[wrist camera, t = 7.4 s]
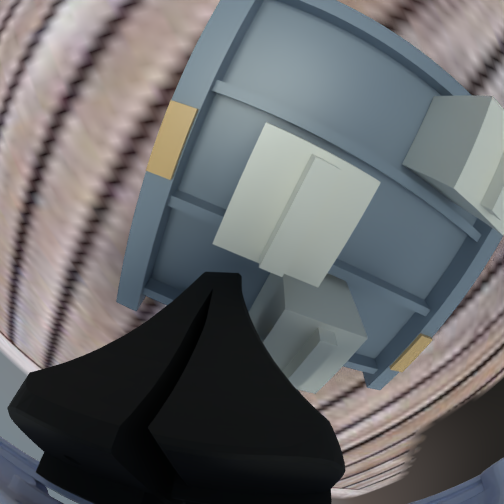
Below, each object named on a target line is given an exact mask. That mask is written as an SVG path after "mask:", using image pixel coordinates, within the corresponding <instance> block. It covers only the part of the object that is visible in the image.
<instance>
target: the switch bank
mask: <svg viewBox="0 0 504 504" xmlns="http://www.w3.org/2000/svg"><path fill="white" fill-rule="evenodd" d="M434 96H472V95H471V94H470V93H469V92H468V91H467V90H466V89H465V88H464V87H462V86H461V85H460V84H459V83H458V82H457V81H456V80H455V79H454V78H453V77H452V76H450V75H449V74H448V73H447V72H446V71H445V70H443V69H442V68H441V67H440V66H439V65H438V64H436V63H435V62H434V61H433V60H431V59H430V58H429V57H427V56H426V55H425V54H424V53H422V52H421V51H420V50H418V49H417V48H416V47H414V46H413V45H411V44H410V43H409V42H407V41H406V40H404V39H403V38H401V37H400V36H398V35H397V34H395V33H394V32H392V31H391V30H389V29H388V28H386V27H384V26H383V25H381V24H379V23H378V22H376V21H374V20H373V19H371V18H369V17H367V16H366V15H364V14H362V13H360V12H358V11H356V10H355V9H353V8H351V7H349V6H347V5H345V4H343V3H341V2H339V1H336V0H220V2H219V4H218V5H217V7H216V9H215V11H214V12H213V14H212V16H211V18H210V20H209V21H208V23H207V25H206V27H205V29H204V31H203V33H202V35H201V36H200V38H199V40H198V42H197V44H196V46H195V48H194V50H193V53H192V55H191V57H190V59H189V61H188V63H187V65H186V67H185V70H184V72H183V74H182V76H181V79H180V81H179V83H178V86H177V88H176V90H175V93H174V95H173V98H172V100H171V101H170V103H169V106H168V108H167V111H166V114H165V116H164V119H163V122H162V124H161V127H160V130H159V133H158V135H157V138H156V141H155V144H154V147H153V150H152V153H151V156H150V159H149V162H148V165H147V169H146V174H145V177H144V180H143V184H142V187H141V191H140V194H139V198H138V202H137V205H136V209H135V213H134V217H133V221H132V225H131V229H130V234H129V238H128V242H127V247H126V252H125V256H124V261H123V266H122V272H121V277H120V283H119V289H118V295H117V301H116V302H118V303H120V304H122V305H124V306H126V307H128V308H130V309H132V310H135V311H137V310H138V308H139V306H140V305H141V303H142V302H143V300H144V298H145V297H146V296H147V297H150V298H152V299H154V300H156V301H159V302H161V303H163V304H166V305H168V304H170V303H171V302H172V301H173V300H174V299H176V298H177V297H178V296H179V295H180V294H181V293H182V292H183V291H185V290H186V289H187V288H188V287H189V286H190V285H191V284H192V283H193V282H194V281H195V280H196V279H198V278H199V277H200V276H201V275H202V274H203V273H204V272H229V273H239V274H240V275H241V276H242V293H243V297H244V301H245V304H246V307H247V310H248V312H249V310H250V309H251V307H252V305H253V303H254V301H255V300H256V298H257V296H258V294H259V293H260V291H261V289H262V287H263V285H264V284H265V282H266V280H267V278H268V276H269V275H270V273H271V272H268V271H266V270H263V269H261V268H259V263H257V262H255V261H252V260H250V259H247V258H245V257H243V256H240V255H238V254H235V253H233V252H231V251H228V250H226V249H223V248H221V247H219V246H216V245H214V244H212V243H213V241H214V239H215V236H216V234H217V231H218V229H219V227H220V224H221V222H222V220H223V217H224V215H225V212H226V210H227V208H228V205H229V203H230V201H231V199H232V196H233V194H234V192H235V189H236V187H237V185H238V182H239V180H240V178H241V176H242V173H243V171H244V169H245V167H246V165H247V162H248V160H249V158H250V156H251V153H252V151H253V149H254V147H255V145H256V143H257V140H258V138H259V136H260V134H261V132H262V130H263V127H264V125H265V123H266V122H268V123H271V124H273V125H275V126H277V127H280V128H282V129H284V130H286V131H288V132H290V133H293V134H295V135H297V136H299V137H301V138H303V139H305V140H307V141H309V142H311V143H313V144H315V145H317V146H319V147H321V148H323V149H325V150H327V151H329V152H330V153H332V154H334V155H336V156H338V157H340V158H342V159H343V160H345V161H347V162H349V163H350V164H352V165H354V166H355V167H357V168H359V169H361V170H362V171H364V172H365V173H367V174H369V175H370V176H372V177H374V178H375V179H377V180H378V181H380V182H381V183H380V185H379V187H378V189H377V190H376V192H375V194H374V196H373V198H372V200H371V201H370V203H369V205H368V207H367V208H366V210H365V212H364V214H363V215H362V217H361V219H360V221H359V222H358V224H357V226H356V227H355V229H354V231H353V232H352V234H351V236H350V237H349V239H348V241H347V242H346V244H345V246H344V247H343V249H342V251H341V252H340V254H339V256H338V257H337V259H336V260H335V262H334V264H333V265H332V267H331V268H330V270H329V271H328V274H330V275H333V276H335V277H337V278H340V279H342V280H344V281H346V283H347V285H348V287H349V290H350V292H351V295H352V297H353V300H354V303H355V305H356V308H357V310H358V313H359V316H360V318H361V321H362V323H363V326H364V329H365V332H366V334H367V337H368V339H367V340H366V341H365V342H364V343H363V344H362V345H361V347H360V348H359V349H358V350H357V351H356V352H355V353H354V354H353V356H352V357H351V358H350V359H349V360H348V361H347V362H346V363H345V364H344V365H343V366H344V367H347V368H351V369H355V370H359V371H363V375H364V378H365V382H366V386H367V388H372V389H377V390H381V389H382V388H383V387H384V386H385V385H386V384H387V383H388V382H389V381H390V380H391V379H393V378H394V377H395V376H396V375H397V374H398V373H399V372H403V371H404V370H405V369H406V368H407V367H408V366H409V365H410V364H411V363H412V362H413V361H414V360H415V359H416V358H417V357H418V355H419V354H420V353H421V352H422V351H423V350H424V349H425V348H426V347H427V346H428V345H429V344H430V342H431V341H432V337H433V335H434V334H435V333H436V332H437V331H438V330H439V328H440V327H441V326H442V325H443V324H444V322H445V321H446V320H447V319H448V317H449V316H450V315H451V314H452V312H453V311H454V310H455V308H456V307H457V306H458V304H459V303H460V302H461V300H462V299H463V298H464V296H465V295H466V294H467V292H468V291H469V289H470V288H471V287H472V285H473V284H474V282H475V281H476V279H477V278H478V276H479V275H480V273H481V272H482V270H483V269H484V267H485V265H486V264H487V262H488V261H489V259H490V257H491V256H492V254H493V252H494V251H495V249H496V247H497V246H498V244H499V242H500V240H501V239H502V237H503V235H501V234H500V233H499V232H497V231H496V230H494V229H493V228H492V227H490V226H489V225H487V224H486V223H484V222H483V221H481V220H480V219H478V218H477V217H475V216H474V215H472V214H471V213H469V212H467V211H466V210H464V209H463V208H461V207H459V206H458V205H456V204H454V203H453V202H451V201H450V200H449V199H448V198H446V197H445V196H444V195H443V194H441V193H440V192H439V191H438V190H436V189H435V188H434V187H432V186H431V185H430V184H428V183H427V182H426V181H424V180H423V179H422V178H420V177H419V176H418V175H416V174H415V173H413V172H412V171H411V170H409V169H408V168H406V167H405V166H403V165H402V163H403V161H404V159H405V157H406V155H407V153H408V151H409V149H410V147H411V145H412V143H413V141H414V139H415V137H416V135H417V133H418V131H419V129H420V126H421V124H422V122H423V120H424V118H425V116H426V113H427V111H428V109H429V107H430V104H431V102H432V100H433V97H434Z"/></svg>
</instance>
